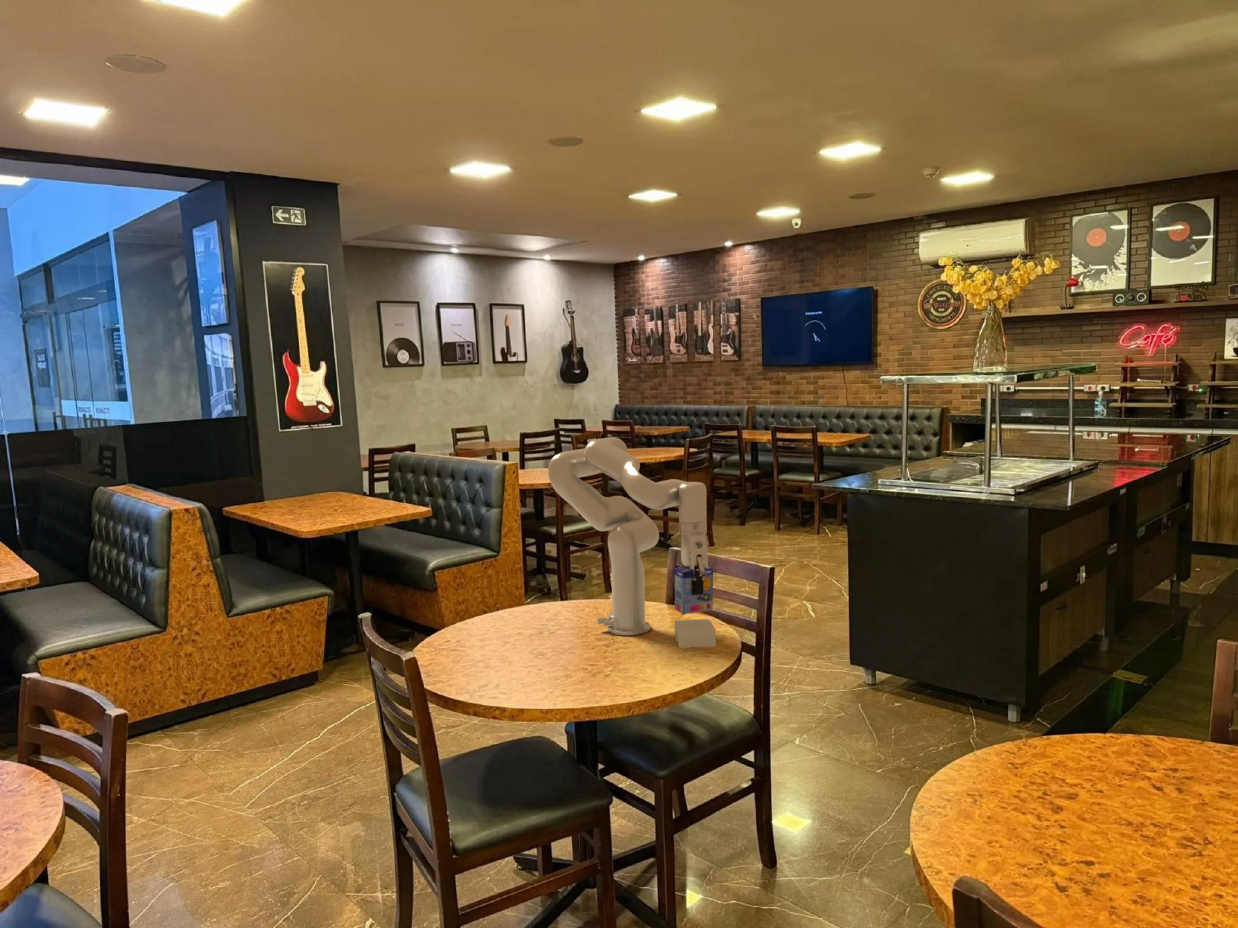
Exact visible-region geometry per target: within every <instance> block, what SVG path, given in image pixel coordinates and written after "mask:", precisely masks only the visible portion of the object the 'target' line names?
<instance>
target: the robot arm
mask: <svg viewBox="0 0 1238 928" xmlns="http://www.w3.org/2000/svg"><path fill="white" fill-rule="evenodd" d="M640 464H641V463H640V461H639V459H638V458H637V457H636V456H634V455H632V454H630V453H628V447H627V444H626V443H625V442H624V441H623V440H622V439H621V438H618V437H613V436H612V437H604V438H597V439H594V440H592V441H590V442H588V444H587V445H585V448H580V449H574V450H566V451H562V452H559V453H557V454H555V455H554V456H553V457H552V458H551V459H550V461H549V463H548V466H547V467H548V468H547V473H548V480H549V482H550V485H551V487H552V488H553V490H554V491H555V493H556V494H558V495H559V496H560V497H561V498H562V499H563V500H565V502H566V503H568V505H570V506H572V508H573V509H575V511H576V512H577V513H578V514H579V515H580V516H581V517H582V518H583V519H584V520H585V521H587V523H588V524H589V525H590V526H591V527H593V528H594V529H595V530H597V531H598V532H607V531H610V532H609V534H608V537H607V548H608V552H609V556H610V567H611V596H612V600H611V601H612V602H611V603H612V612H609V615H607V616H606V617H597V618H596V624H597V626H598V625H602V626H603V627H604V626H605V627H606V626H607V630H608V631H609V633H611V634H614V635H619V636H637V635H643V634H645V633H647V632H650V631H651V629H652V627H651V624H650V622H649V621H647V620H646V601H645V599H646V597H645V596H646V594H645V593H646V591H645V590H646V589H645V588H646V586H645V567H644V563H643V560H642V558H641V554H640V553H642V552H646V551H647V550H651V549H653V548H654V547H655V546H656V545H657V544H658V543H659V542H658V541H659V538H660V533H659V528H658V526H657V525H656V523H655V522H654V520H653V519H651V518H650V517H649V516H648V515H647V514H646V513H645V512H644V511H643V510H642V509H641V508H639V507H638V506H637V505H636V504H635V503H634V502H633V501H632V500H631V499H629V498H627V497H624V496H622V495H613V496H609V497H606V496H603V495H602V494H601V493H600V492H599V491H597V489H596V488H594V487H593V486H592V485H591V484H589V483H587V482H586V481H584V480H582V479H581V478H583V477H589V476H593V475H595V474H598V473H603V474H605V475H606V476H608V477H610V478H612V479H613V480H615V481H617V482H619V483H620V484H621V485H622V488H623V489H624V491H625V492H626V493H627V495H628V496H629V497H630V498H632V499H633V500H634V501H636V502H638V504H641V505H643V506H645V507H646V508H648V509H651V510H655V511H660V510H661V511H662V510H665V509H669V508H673V507H677V506H678V524H679V525H678V528H679V529H678V532H679V533H680V535H681V538H680V539H681V540H680V544H681V545H680V558H681V563H682V565H683V566H686V567H688V568H689V569H691V570H692V577H693V580H692V594H693V595H699V594H703V580H704V577H703V575H704V572H705V570H704V569H707V568H708V566H709V558H708V543H707V536H706V534H707V531H708V529H707V527H708V526H707V524H708V523H707V486H706V484H705V483H703V482H701V481H700V482H699V481H685V480H681V479H677V478H676V479H675V478H671V479H667V480H661V481H657V482H655V481H653V480H651V479H649V478H647V477H646V476H644V475H643V474H641V473H640V467H641V465H640ZM683 566H682V567H683ZM694 567H698V569H695V568H694ZM696 571H698V572H697V573H696V575H695V572H696Z"/></svg>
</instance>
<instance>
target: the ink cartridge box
mask: <svg viewBox="0 0 1238 928" xmlns="http://www.w3.org/2000/svg"><path fill="white" fill-rule="evenodd" d="M694 568H695V569H698V567H694ZM704 570H705V572H704V575H703V577H704V580H703V594H699V595H693V594H692V580H693V577H692V570H691V569H689V568H688V567H686V566H677V567H674V611H675V610H676V611H677V612H679V613H680V614H681V615H687V614H695V613H702V612H709V611H712V610H713V608H714V606H713V605H714V604H713V603H714V601H713V600H714V599H713V598H714V596H713V594H714V567H713V566H710V565H708V568H707V569H704ZM697 572H698V571H696V572H695V575H696V573H697Z"/></svg>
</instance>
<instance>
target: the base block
mask: <svg viewBox="0 0 1238 928" xmlns="http://www.w3.org/2000/svg"><path fill="white" fill-rule="evenodd" d="M674 638H675V640H676V642H678V643H677V645H678V646H679V647H678V648H679V649H692V648H691V647H697V648H716V647H717V629H716V628H715V626H714V625H713V623H712V620H711V619H710V618H703V619H681V620H674Z"/></svg>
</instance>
